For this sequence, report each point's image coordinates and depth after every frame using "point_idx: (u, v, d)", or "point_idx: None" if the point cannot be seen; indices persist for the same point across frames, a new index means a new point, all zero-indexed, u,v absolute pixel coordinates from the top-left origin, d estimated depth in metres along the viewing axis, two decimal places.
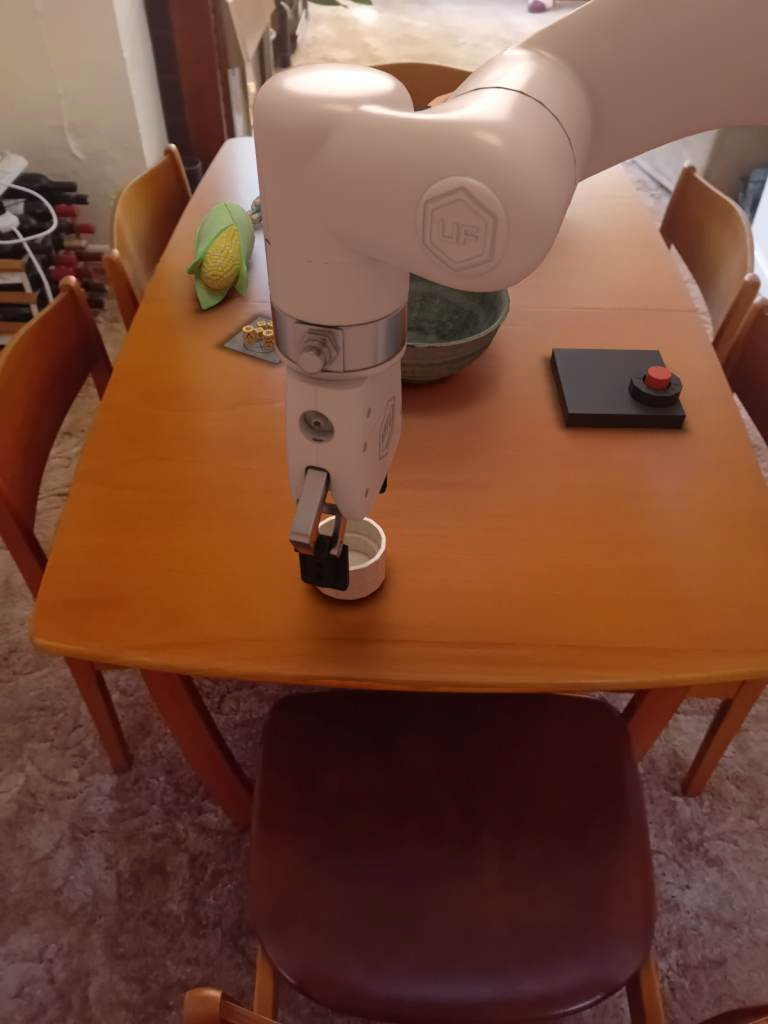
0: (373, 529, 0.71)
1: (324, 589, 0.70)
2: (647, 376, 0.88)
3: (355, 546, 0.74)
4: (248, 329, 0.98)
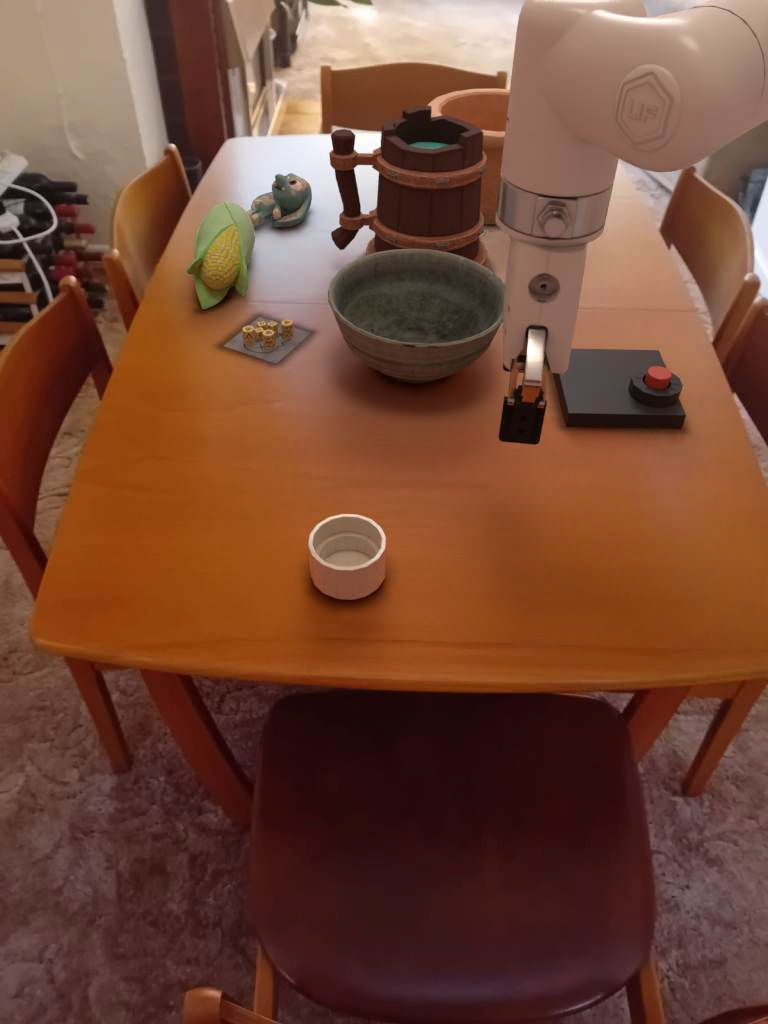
0: (373, 529, 0.71)
1: (324, 589, 0.70)
2: (647, 376, 0.88)
3: (355, 546, 0.74)
4: (248, 330, 0.98)
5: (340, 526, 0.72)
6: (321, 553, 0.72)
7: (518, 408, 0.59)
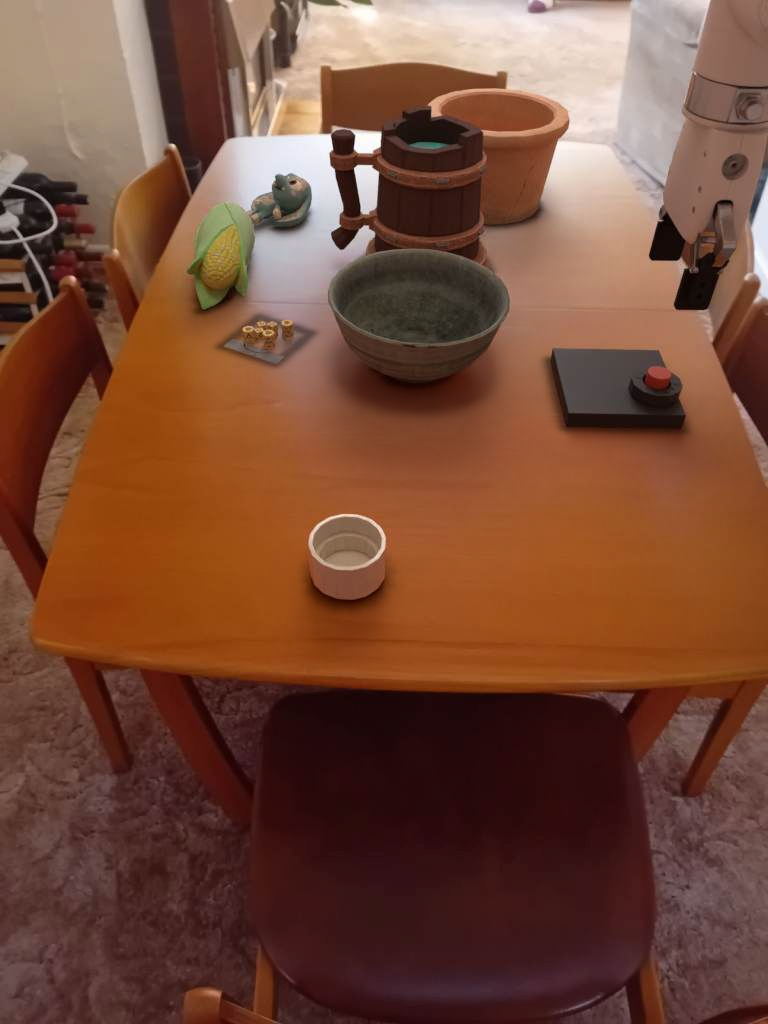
0: (373, 529, 0.71)
1: (324, 589, 0.70)
2: (647, 376, 0.88)
3: (355, 546, 0.74)
4: (248, 330, 0.98)
5: (340, 526, 0.72)
6: (321, 553, 0.72)
7: (700, 276, 0.72)
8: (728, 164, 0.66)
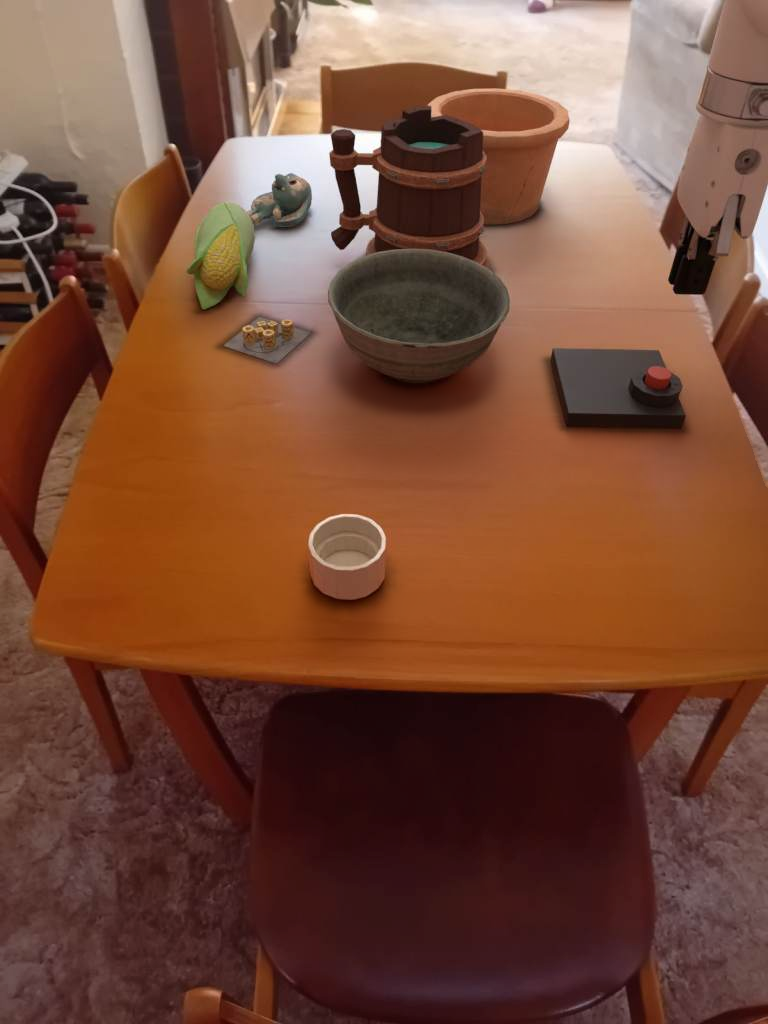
0: (373, 529, 0.71)
1: (324, 589, 0.70)
2: (647, 376, 0.88)
3: (355, 546, 0.74)
4: (248, 329, 0.98)
5: (340, 526, 0.72)
6: (321, 553, 0.72)
7: (697, 262, 0.77)
8: (741, 159, 0.68)
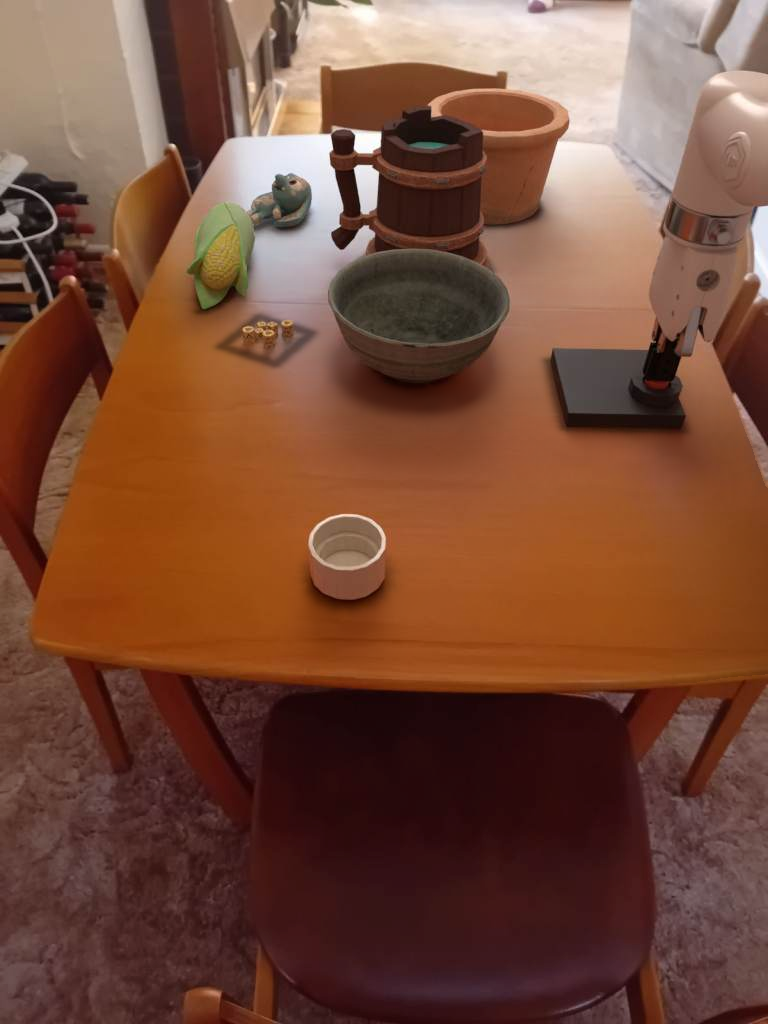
0: (373, 529, 0.71)
1: (324, 589, 0.70)
2: (645, 381, 0.89)
3: (355, 546, 0.74)
4: (248, 330, 0.98)
5: (340, 526, 0.72)
6: (321, 553, 0.72)
7: (665, 355, 0.85)
8: (702, 277, 0.76)
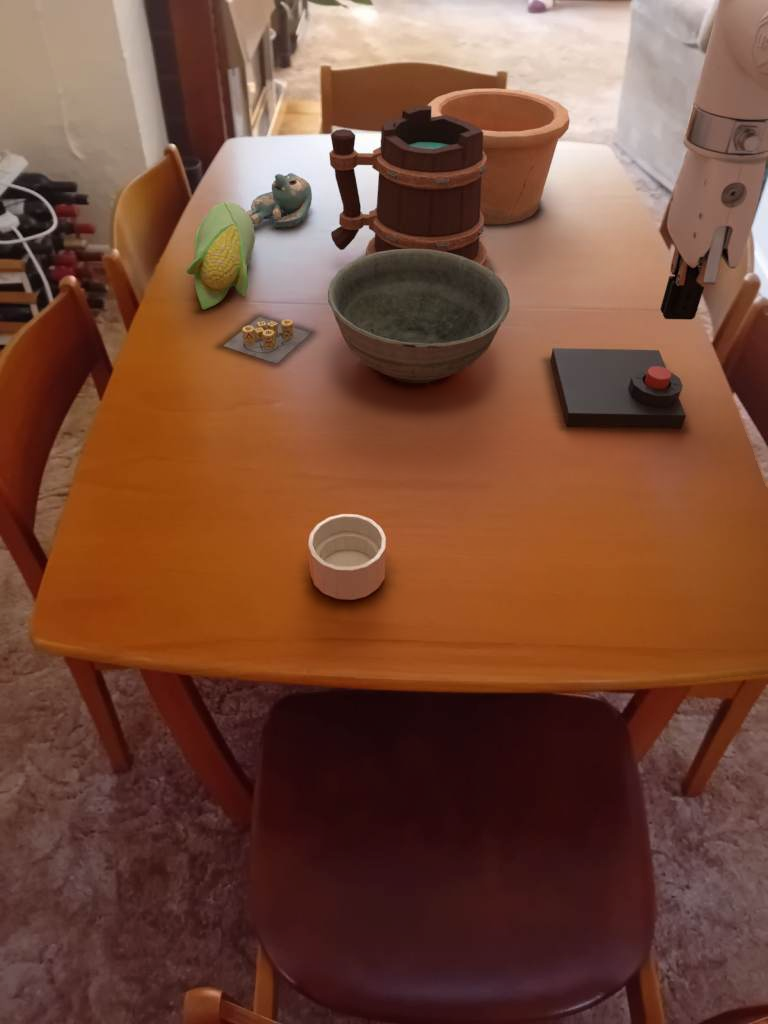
0: (373, 529, 0.71)
1: (324, 589, 0.70)
2: (647, 376, 0.88)
3: (355, 546, 0.74)
4: (248, 330, 0.98)
5: (340, 526, 0.72)
6: (321, 553, 0.72)
7: (685, 288, 0.78)
8: (727, 192, 0.69)
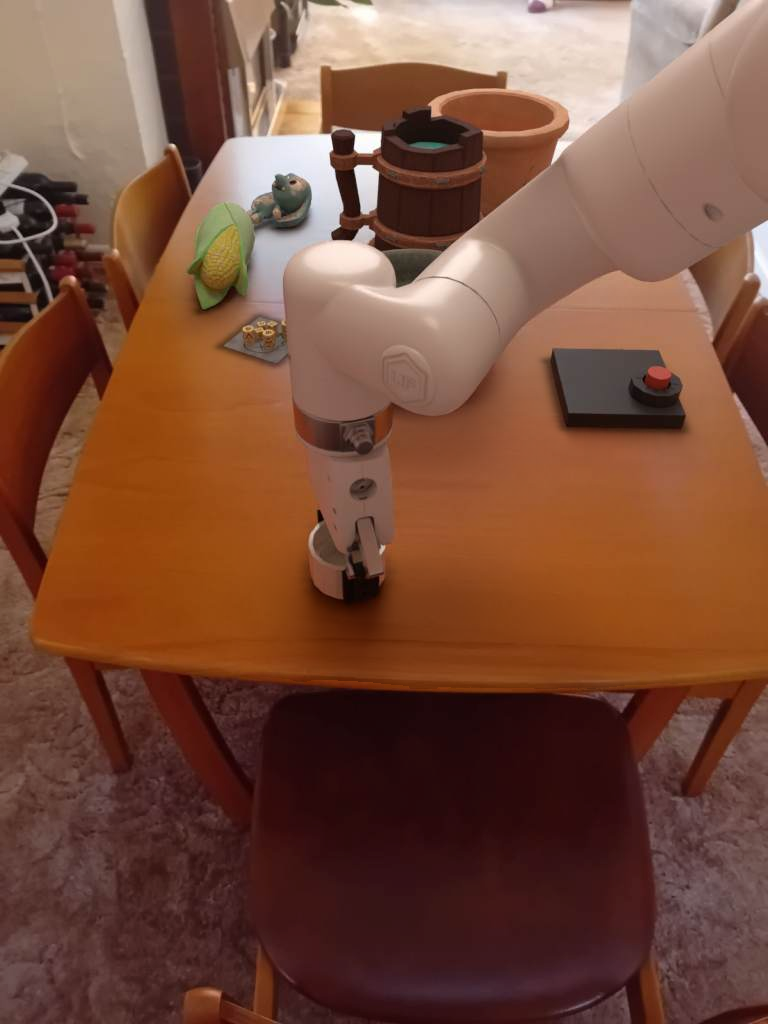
0: None
1: (324, 589, 0.70)
2: (647, 376, 0.88)
3: None
4: (248, 330, 0.98)
5: None
6: (321, 553, 0.72)
7: (358, 578, 0.66)
8: (356, 485, 0.59)
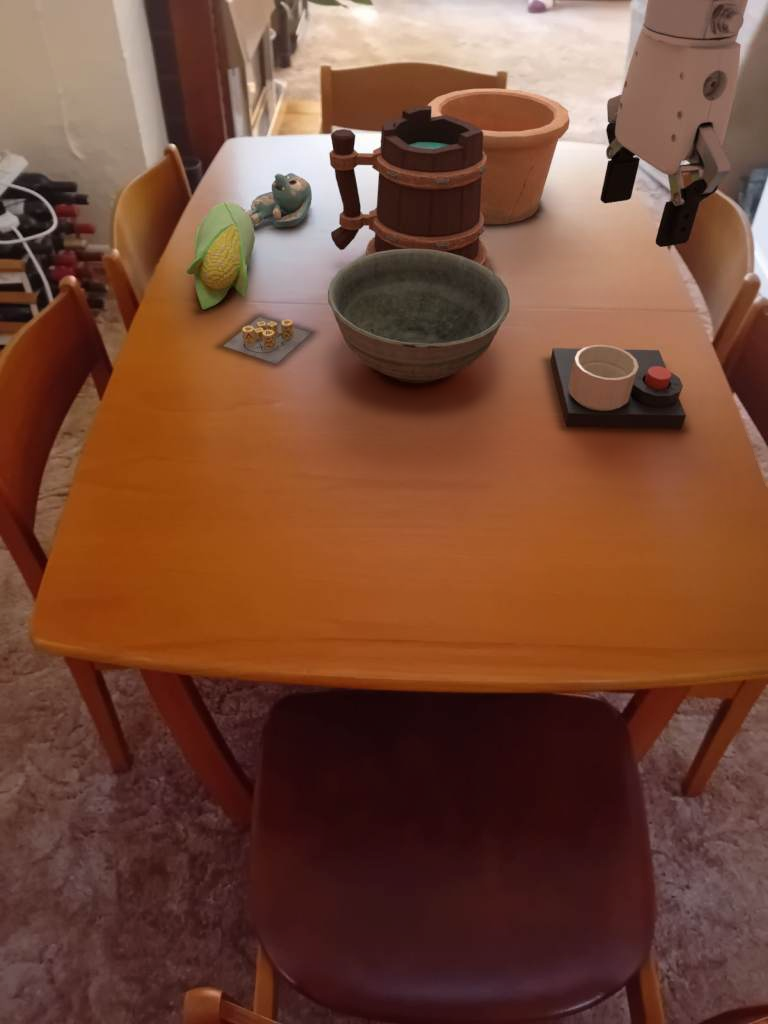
0: (622, 355, 0.88)
1: (587, 401, 0.87)
2: (647, 376, 0.88)
3: (601, 374, 0.91)
4: (248, 330, 0.98)
5: (592, 355, 0.89)
6: None
7: (684, 207, 0.68)
8: (706, 84, 0.63)
